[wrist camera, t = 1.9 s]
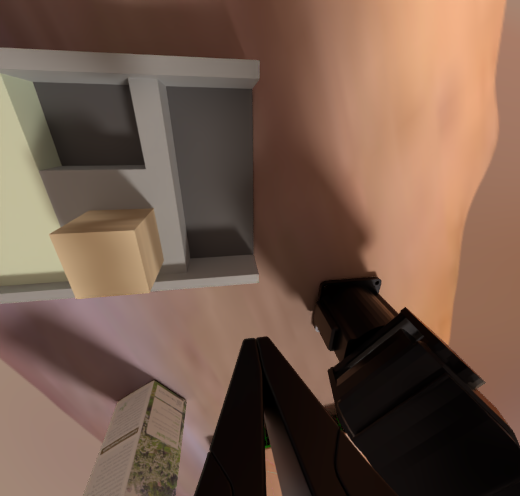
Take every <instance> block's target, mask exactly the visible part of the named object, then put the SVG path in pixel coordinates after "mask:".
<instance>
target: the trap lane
mask: <svg viewBox="0 0 520 496" xmlns="http://www.w3.org/2000/svg"><path fill="white" fill-rule="evenodd" d="M259 79H260V60H244V59H224V58H204V57H183V56H163V55H143V54H123V53H102V52H82V51H62V50H41V49H21V48H1V47H0V304H5V303H17V302H30V301H42V300H54V299H66V298H75V295H74V293H73V291H72V288H71V286H70V284H69V281H68V279H67V276H66V274H65V272H64V269H63V267H62V265H61V262H60V260H59V257H58V255H57V253H56V250H55V248H54V246H53V243H52V241H51V239H50V236H49V234H50V233H52V232H54V231H55V230H57V229H59V228H60V227H62V226H64V225H65V224H67V223H69V222H70V221H72V220H74V219H75V218H77V217H79V216H81V215H82V214H84V213H86V212H87V211H92V210H120V209H148V208H154V212H155V217H156V222H157V227H158V232H159V237H160V242H161V247H162V253H163V258H164V262H163V264H162V266H161V269H160V271H159V273H158V275H157V278H156V280H155V282H154V284H153V287H152V289H151V291H150V292H152V291H164V290H177V289H189V288H201V287H213V286H226V285H238V284H250V283H259V273H258V269H257V266H256V262H255V258H254V255H253V116H252V89H253V87H254V86H255V85H256V83H257V82H258V80H259Z"/></svg>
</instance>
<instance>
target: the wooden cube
mask: <svg viewBox="0 0 520 496" xmlns="http://www.w3.org/2000/svg"><path fill="white" fill-rule="evenodd" d="M49 236H50V239H51V241H52V243H53V246H54V248H55V250H56V253H57V255H58V257H59V260H60V262H61V265H62V267H63V269H64V272H65V274H66V276H67V279H68V281H69V284H70V286H71V288H72V291H73V293H74V295H75V298H76V299H82V298H94V297H106V296H119V295H131V294H143V293H150V291H151V289H152V287H153V284H154V282H155V280H156V278H157V275H158V273H159V271H160V269H161V266H162V264H163V262H164V258H163V253H162V247H161V242H160V237H159V232H158V227H157V222H156V217H155V212H154V208H148V209H120V210H92V211H87V212H86V213H84V214H82V215H81V216H79V217H77V218H75V219H74V220H72V221H70V222H69V223H67V224H65V225H64V226H62V227H60V228H59V229H57V230H55V231H54V232H52V233H50V234H49Z"/></svg>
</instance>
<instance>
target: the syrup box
mask: <svg viewBox="0 0 520 496" xmlns="http://www.w3.org/2000/svg"><path fill="white" fill-rule="evenodd" d="M186 403H187V402H186V400H184V399H182V398H181V397H179V396H178V395H176V394H175V393H173V392H172V391H170V390H169V389H167V388H165V387H164V386H162V385H161V384H159V383H158V382H156V381H152V382H150V383H148V384H146V385H144V386H143V387H141V388H139V389H138V390H136V391H134V392H133V393H131V394H129V395H128V396H126V397H125V398H123V399H121V400H120V401H118V403H117V405H116V407H115V410H114V413H113V416H112V418H111V421H110V424H109V427H108V430H107V433H106V436H105V438H104V441H103V443H102V446H101V449H100V452H99V454H98V457H97V460H96V462H95V465H94V467H93V470H92V473H91V475H90V478H89V481H88V483H87V486H86V489H85V491H84V494H83V496H176V487H177V479H178V471H179V463H180V453H181V445H182V437H183V428H184V419H185V411H186Z"/></svg>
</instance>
